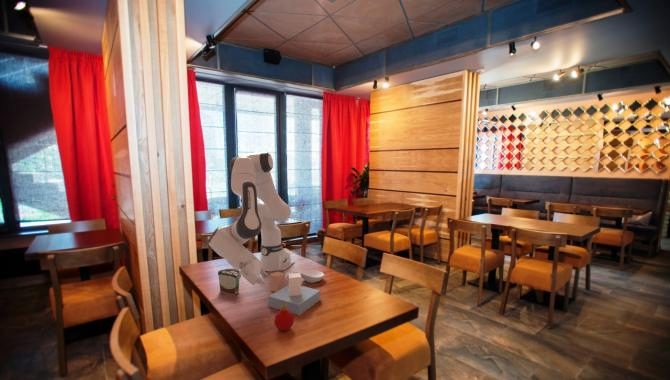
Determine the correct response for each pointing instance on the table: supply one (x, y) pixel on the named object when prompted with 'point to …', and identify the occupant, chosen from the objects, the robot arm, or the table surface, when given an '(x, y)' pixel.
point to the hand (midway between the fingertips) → (265, 280)
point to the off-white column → (294, 284)
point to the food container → (229, 281)
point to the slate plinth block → (294, 299)
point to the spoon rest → (307, 275)
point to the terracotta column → (277, 281)
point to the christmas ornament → (283, 319)
